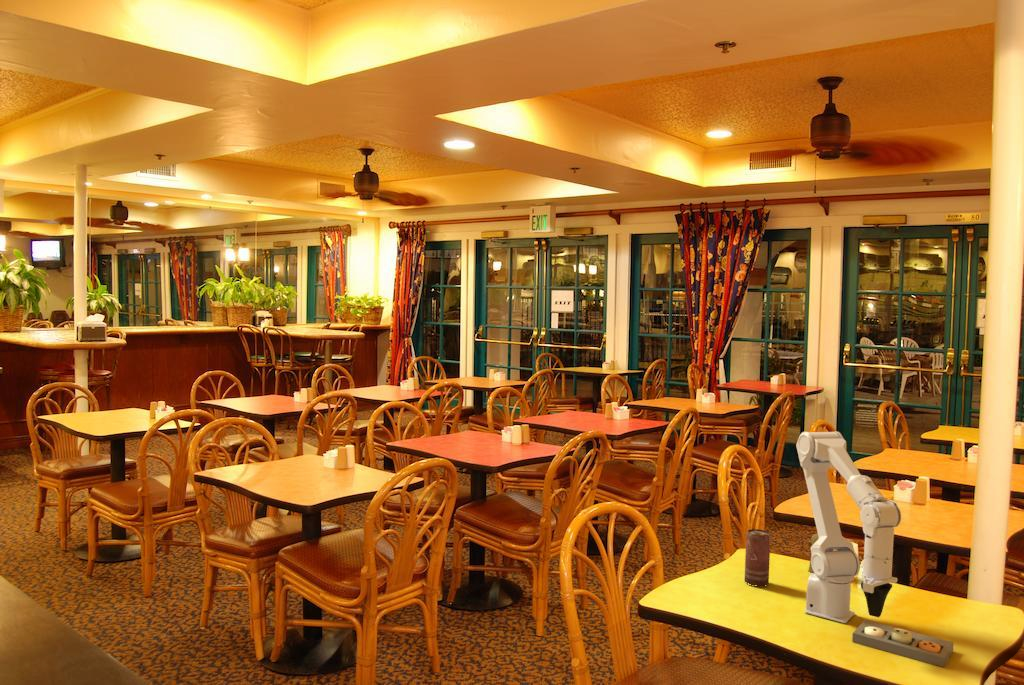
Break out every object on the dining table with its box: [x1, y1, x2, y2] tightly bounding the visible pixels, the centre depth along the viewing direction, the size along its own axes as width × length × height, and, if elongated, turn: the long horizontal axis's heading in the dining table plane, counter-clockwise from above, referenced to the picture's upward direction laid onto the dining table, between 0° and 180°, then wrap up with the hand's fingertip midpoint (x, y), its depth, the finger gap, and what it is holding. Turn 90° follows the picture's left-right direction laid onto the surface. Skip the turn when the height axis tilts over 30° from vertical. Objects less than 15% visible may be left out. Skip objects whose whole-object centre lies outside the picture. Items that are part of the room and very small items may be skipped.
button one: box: [864, 626, 884, 638], centre depth 172 cm, size 4×4×2 cm
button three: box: [919, 641, 940, 653], centre depth 165 cm, size 4×4×2 cm
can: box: [744, 528, 772, 587], centre depth 206 cm, size 6×6×14 cm
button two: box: [891, 628, 912, 645], centre depth 169 cm, size 4×4×2 cm
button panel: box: [851, 619, 955, 668], centre depth 170 cm, size 18×10×2 cm, turn 51°
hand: (874, 615), depth 172 cm, fingers closed
